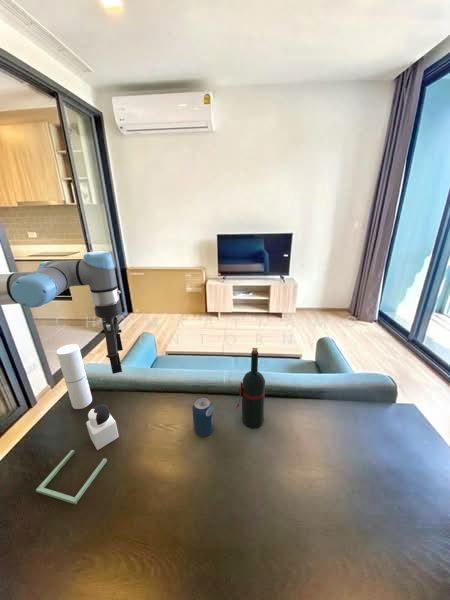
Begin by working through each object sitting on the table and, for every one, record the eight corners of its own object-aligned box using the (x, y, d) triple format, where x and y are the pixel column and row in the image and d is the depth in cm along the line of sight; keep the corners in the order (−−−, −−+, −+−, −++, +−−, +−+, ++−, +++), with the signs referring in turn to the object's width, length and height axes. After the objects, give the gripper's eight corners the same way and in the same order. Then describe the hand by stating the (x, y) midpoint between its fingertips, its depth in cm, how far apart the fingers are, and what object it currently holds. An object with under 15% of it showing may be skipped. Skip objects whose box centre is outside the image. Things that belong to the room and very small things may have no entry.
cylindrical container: (68, 408, 98) (51, 353, 89) (80, 395, 104) (66, 343, 96) (84, 410, 97) (69, 355, 88) (96, 397, 103) (83, 344, 94)
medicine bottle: (111, 425, 90) (105, 398, 86) (119, 437, 85) (113, 410, 81) (90, 437, 85) (82, 410, 81) (97, 451, 80) (89, 422, 76)
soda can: (217, 431, 87) (216, 404, 83) (199, 441, 83) (198, 413, 79) (207, 418, 92) (206, 392, 88) (190, 427, 89) (188, 400, 84)
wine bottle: (236, 410, 96) (236, 342, 85) (263, 412, 95) (266, 343, 84) (234, 427, 88) (234, 354, 78) (263, 429, 87) (267, 356, 77)
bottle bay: (36, 492, 69) (35, 489, 69) (72, 451, 80) (71, 449, 80) (75, 504, 66) (74, 502, 66) (107, 460, 77) (106, 458, 77)
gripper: (118, 315, 67) (130, 380, 75) (120, 289, 89) (129, 341, 97) (87, 320, 65) (102, 386, 72) (97, 291, 87) (108, 344, 94)
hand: (118, 360), depth 85 cm, fingers open, 13 cm apart
